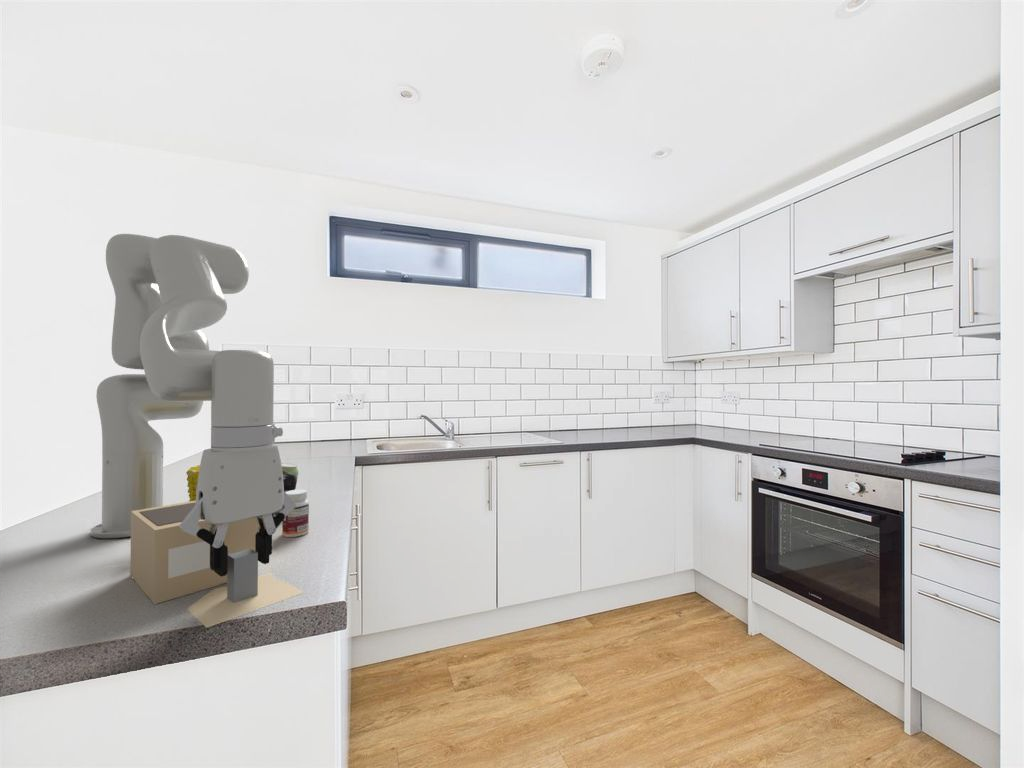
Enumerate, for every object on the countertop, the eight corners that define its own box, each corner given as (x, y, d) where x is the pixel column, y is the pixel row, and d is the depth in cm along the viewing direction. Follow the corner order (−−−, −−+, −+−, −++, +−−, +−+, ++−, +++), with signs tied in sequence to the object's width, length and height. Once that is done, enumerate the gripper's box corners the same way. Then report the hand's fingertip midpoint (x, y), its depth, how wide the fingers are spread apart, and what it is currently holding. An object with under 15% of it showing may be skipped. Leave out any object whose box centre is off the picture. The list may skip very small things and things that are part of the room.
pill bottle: (283, 531, 90) (283, 490, 90) (309, 528, 92) (309, 488, 92) (280, 539, 86) (281, 495, 86) (308, 536, 88) (308, 493, 88)
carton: (130, 575, 69) (130, 510, 69) (225, 551, 79) (225, 494, 79) (154, 604, 60) (155, 529, 60) (258, 573, 70) (258, 509, 70)
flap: (178, 603, 61) (179, 556, 61) (270, 575, 71) (270, 534, 71) (206, 631, 54) (206, 578, 54) (303, 595, 64) (303, 550, 64)
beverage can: (257, 517, 100) (258, 463, 100) (292, 510, 105) (293, 460, 105) (265, 523, 95) (266, 467, 95) (301, 516, 100) (302, 463, 100)
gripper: (291, 431, 72) (290, 544, 72) (161, 441, 59) (159, 580, 59) (314, 435, 67) (313, 556, 67) (178, 446, 54) (176, 597, 54)
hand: (241, 565), depth 63 cm, fingers open, 4 cm apart
